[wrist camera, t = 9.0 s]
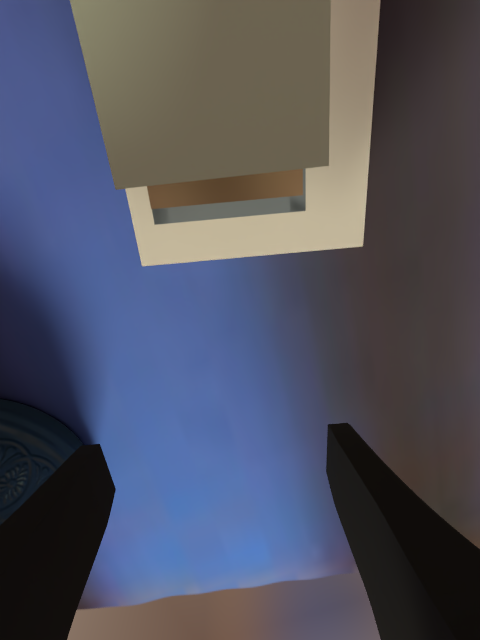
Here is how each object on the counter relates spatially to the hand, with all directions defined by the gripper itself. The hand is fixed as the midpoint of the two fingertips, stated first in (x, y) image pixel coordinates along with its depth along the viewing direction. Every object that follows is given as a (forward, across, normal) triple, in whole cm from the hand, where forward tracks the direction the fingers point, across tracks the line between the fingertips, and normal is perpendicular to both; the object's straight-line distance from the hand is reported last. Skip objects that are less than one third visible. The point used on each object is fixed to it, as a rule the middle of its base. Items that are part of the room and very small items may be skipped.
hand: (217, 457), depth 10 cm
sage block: (+5, -1, -10) cm, 11 cm away
